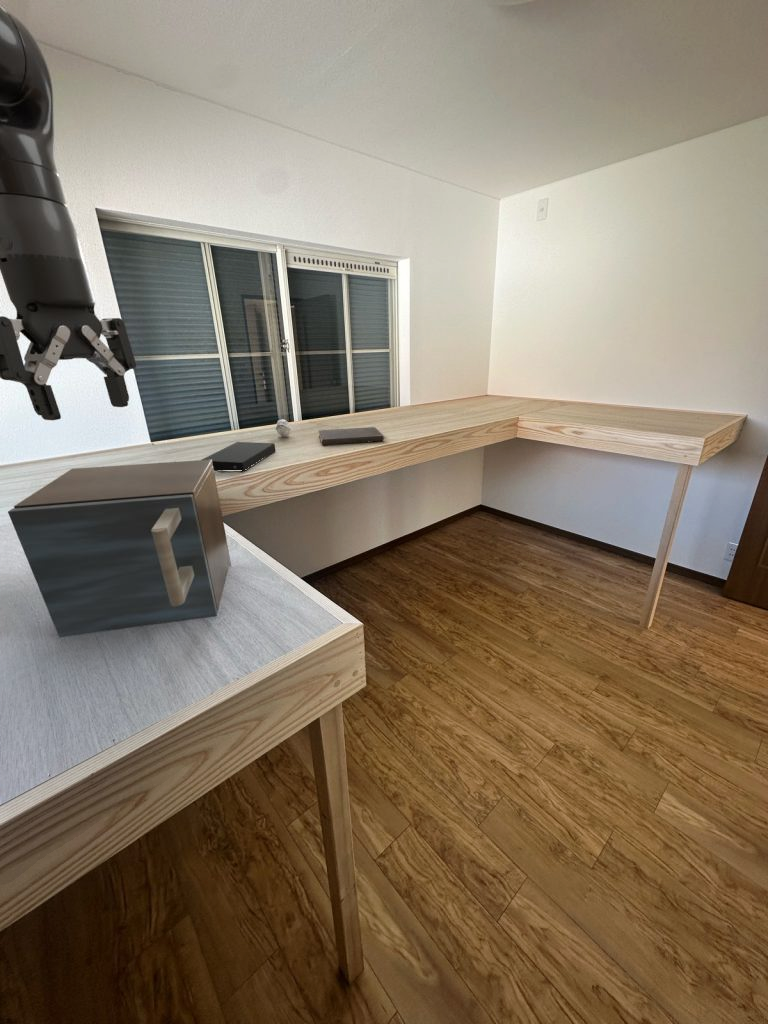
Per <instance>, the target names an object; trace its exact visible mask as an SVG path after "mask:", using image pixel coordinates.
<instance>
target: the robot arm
mask: <svg viewBox="0 0 768 1024" xmlns="http://www.w3.org/2000/svg"><path fill="white" fill-rule="evenodd" d="M54 105H55V104H54V87H53V81H52V75H51V73H50V69H49V66H48V63H47V61H46V59H45V56H44V54H43V52H42V49H41V48H40V45H39V44H38V42H37V40H36V39H35V37H34V36H33V34H32V33H31V31H30V30H29V29H28V28H27V26H26V25H25V24H24V23H23V22H22V21H21V20H20V19H19V18H18V17H16V16H15V15H14V14H12V13H11V11H9V10H7V9H6V8H5V7H3V6H2V5H0V273H1V276H2V280H3V283H4V286H5V288H6V291H7V295H8V298H9V300H10V302H11V304H12V305H13V306H14V308H15V311H16V318H9V317H7V316H5V315H4V316H3V315H2V316H0V379H1V380H4V381H11V382H15V383H20V384H22V385H24V387H25V388H26V390H27V393H28V396H29V399H30V402H31V404H32V405H31V406H32V407H33V411H34V412H35V413H36V414H37V416H41V418H42V419H43V420H44V421H57V420H58V421H59V420H61V419H62V415H61V412H60V408H59V406H58V403H57V400H56V397H55V393H54V391H53V388H52V385H51V384H47V383H48V380H49V378H50V376H51V373H52V370H53V368H55V367H56V366H58V365H57V364H58V363H59V361H67V360H73V359H86V360H87V361H88V362H90V363H92V364H93V365H94V366H95V367H96V368H98V369H99V370H100V371H101V372H102V373H103V374H104V375H105V376H103V380H104V384H105V387H106V390H107V394H108V395H107V396H108V398H109V400H110V401H109V402H110V404H111V406H112V407H114V408H124V407H128V406H129V401H130V395H129V391H128V387H127V382H126V379H125V374H126V373H127V372H128V371H130V370H134V369H136V367H137V363H136V359H135V356H134V353H133V348H132V345H131V342H130V339H129V335H128V332H127V330H126V326H125V322H124V321H123V319H122V318H120V317H111V318H109V317H108V318H102V319H100V318H98V316H97V314H96V312H95V306H96V298H95V294H94V291H93V288H92V283H91V279H90V276H89V272H88V269H87V265H86V261H85V258H84V254H83V250H82V247H81V243H80V238H79V236H78V232H77V229H76V227H75V225H74V221H73V220H72V217H71V215H70V212H69V208H68V204H67V201H66V198H65V193H64V189H63V186H62V183H61V179H60V175H59V172H58V169H57V166H56V160H55V137H56V136H55V106H54ZM21 334H22V335H23V336H24V337H25V338H26V339H27V340H28V341H29V342H30V343H29V344H28V348H27V350H26V352H25V354H24V357H22V354H21V350H20V346H19V343H18V340H19V339H20V336H21ZM101 335H102V336H103V337H104V338H105V340H106V344H107V345H106V344H105V343H104V342H103V341H102V340H101ZM23 360H24V361H23Z"/></svg>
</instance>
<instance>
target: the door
mask: <svg viewBox="0 0 768 1024" xmlns="http://www.w3.org/2000/svg"><path fill="white" fill-rule="evenodd" d="M7 513H8V516H9V518H10V521H11V524H12V526H13V529H14V530H15V533H16V535H17V538H18V540H19V543H20V546H21V547H22V550H23V553H24V556H25V558H26V560H27V562H28V564H29V567H30V570H31V572H32V574H33V578H34V580H35V582H36V584H37V587H38V589H39V592H40V595H41V597H42V599H43V602H44V604H45V607H46V608H47V611H48V614H49V616H50V618H51V621H52V623H53V626H54V628H55V631H56V634H57V635H58V637H59V638H64V637H71V636H80V635H86V634H87V635H88V634H93V633H101V632H108V631H109V632H110V631H117V630H123V629H131V628H139V627H145V626H147V627H148V626H153V625H160V624H168V623H174V622H175V623H176V622H183V621H189V620H190V621H191V620H198V619H205V618H213V617H218V613H219V612H218V611H219V610H218V611H217V607H216V602H215V597H214V592H213V587H212V583H211V578H210V573H209V568H208V564H207V559H206V554H205V549H204V544H203V540H202V535H201V530H200V525H199V521H198V516H197V511H196V506H195V501H194V497H193V494H188V495H175V496H163V497H150V498H138V499H125V500H113V501H100V502H88V503H75V504H63V505H50V506H38V507H25V508H14V507H13V508H11V509H10V510H8V511H7Z"/></svg>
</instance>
